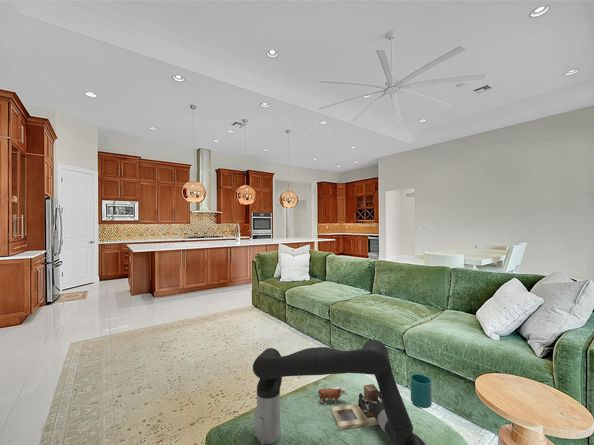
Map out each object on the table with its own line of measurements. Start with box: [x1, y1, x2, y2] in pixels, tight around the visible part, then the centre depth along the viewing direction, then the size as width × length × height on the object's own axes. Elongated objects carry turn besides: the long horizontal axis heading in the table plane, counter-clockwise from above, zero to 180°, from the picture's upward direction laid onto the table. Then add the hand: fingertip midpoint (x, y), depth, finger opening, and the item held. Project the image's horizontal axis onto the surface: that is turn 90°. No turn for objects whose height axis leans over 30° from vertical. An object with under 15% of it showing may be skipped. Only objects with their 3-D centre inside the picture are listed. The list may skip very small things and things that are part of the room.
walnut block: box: [363, 383, 379, 418], centre depth 121 cm, size 4×4×12 cm
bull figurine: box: [317, 386, 348, 405], centre depth 130 cm, size 4×13×8 cm, turn 89°
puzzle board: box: [330, 403, 380, 431], centre depth 120 cm, size 22×12×2 cm, turn 100°
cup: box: [410, 373, 433, 409], centre depth 132 cm, size 9×12×11 cm
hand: (369, 394), depth 123 cm, fingers open, 8 cm apart
